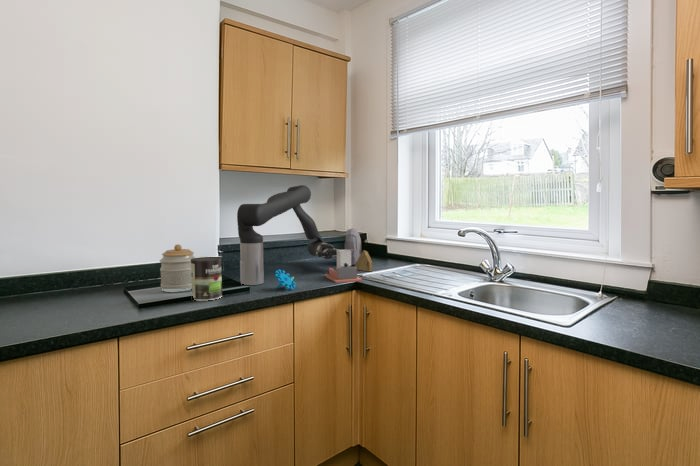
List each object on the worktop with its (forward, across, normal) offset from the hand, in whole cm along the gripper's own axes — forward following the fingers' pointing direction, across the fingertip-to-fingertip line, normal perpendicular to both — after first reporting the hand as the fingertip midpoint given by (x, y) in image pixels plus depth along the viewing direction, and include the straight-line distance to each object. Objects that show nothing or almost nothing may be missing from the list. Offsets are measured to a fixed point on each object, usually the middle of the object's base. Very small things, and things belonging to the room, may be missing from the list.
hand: (336, 254), depth 177 cm
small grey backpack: (-25, +19, +10) cm, 33 cm away
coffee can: (+24, -57, +9) cm, 63 cm away
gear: (+20, -28, +10) cm, 36 cm away
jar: (+7, -67, +9) cm, 68 cm away
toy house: (-7, +17, +10) cm, 21 cm away
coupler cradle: (+9, 0, +9) cm, 13 cm away
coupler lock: (+11, 0, +8) cm, 14 cm away
